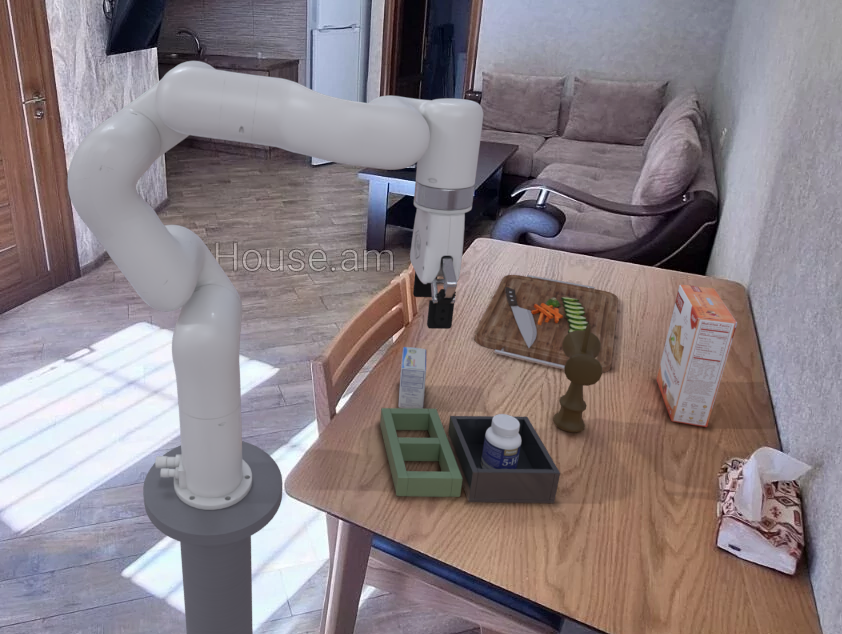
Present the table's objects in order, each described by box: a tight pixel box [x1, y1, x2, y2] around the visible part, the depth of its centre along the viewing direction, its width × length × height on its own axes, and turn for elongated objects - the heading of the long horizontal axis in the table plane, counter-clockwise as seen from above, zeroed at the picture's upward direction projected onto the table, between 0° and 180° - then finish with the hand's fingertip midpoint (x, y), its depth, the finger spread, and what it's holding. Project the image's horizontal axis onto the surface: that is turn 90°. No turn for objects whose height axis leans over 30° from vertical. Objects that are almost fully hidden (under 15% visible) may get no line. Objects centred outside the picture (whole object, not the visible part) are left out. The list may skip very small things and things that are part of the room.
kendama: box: [552, 324, 603, 434], centre depth 109 cm, size 6×10×20 cm, turn 157°
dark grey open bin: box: [447, 415, 561, 504], centre depth 101 cm, size 13×14×6 cm
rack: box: [379, 407, 463, 498], centre depth 104 cm, size 10×18×4 cm, turn 179°
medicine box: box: [398, 346, 427, 409], centre depth 119 cm, size 8×4×9 cm, turn 167°
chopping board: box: [473, 274, 619, 374], centre depth 149 cm, size 45×27×3 cm, turn 151°
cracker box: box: [656, 284, 738, 428], centre depth 115 cm, size 14×6×21 cm, turn 160°
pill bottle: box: [481, 413, 521, 469], centre depth 100 cm, size 5×5×9 cm
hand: (431, 311), depth 92 cm, fingers open, 9 cm apart
